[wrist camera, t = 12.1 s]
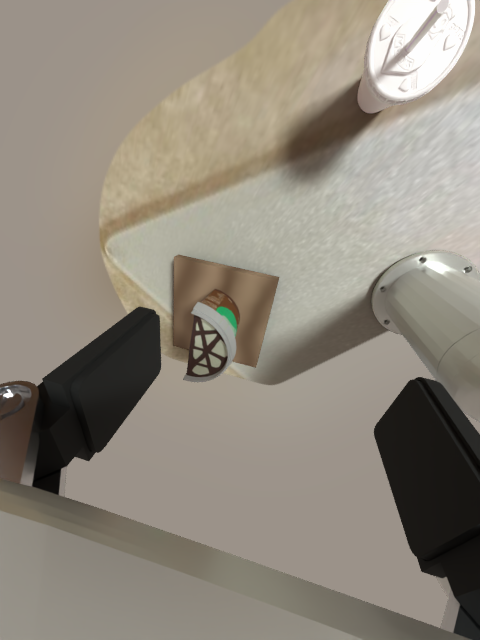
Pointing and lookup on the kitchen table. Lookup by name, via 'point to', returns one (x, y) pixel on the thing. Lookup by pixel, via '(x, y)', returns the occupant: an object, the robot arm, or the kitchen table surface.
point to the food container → (212, 337)
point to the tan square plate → (240, 284)
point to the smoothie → (412, 50)
